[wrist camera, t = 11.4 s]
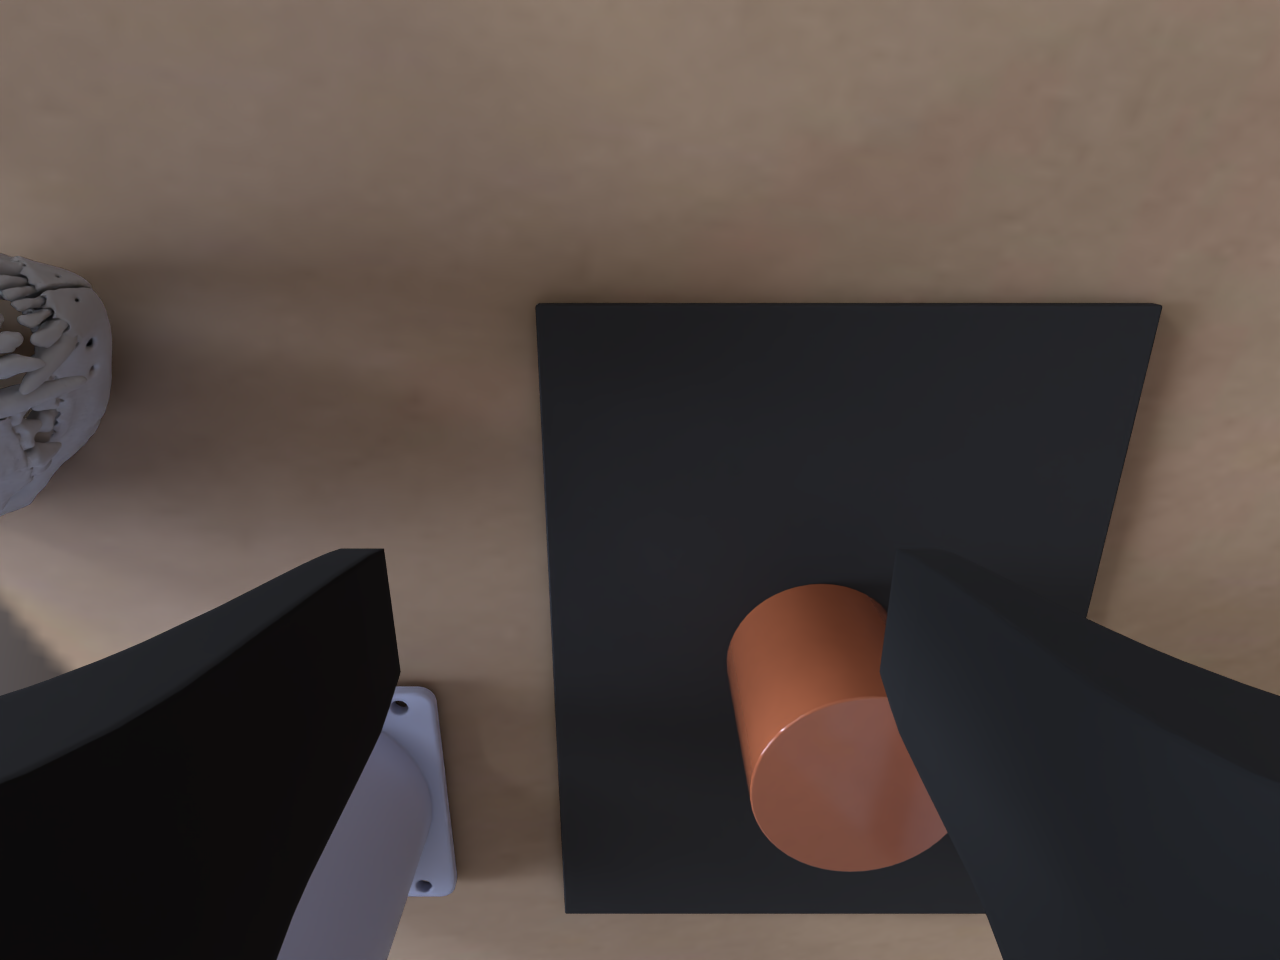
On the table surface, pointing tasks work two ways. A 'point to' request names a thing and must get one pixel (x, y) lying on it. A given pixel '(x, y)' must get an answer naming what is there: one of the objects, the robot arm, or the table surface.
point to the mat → (789, 543)
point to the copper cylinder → (825, 733)
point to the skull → (49, 375)
